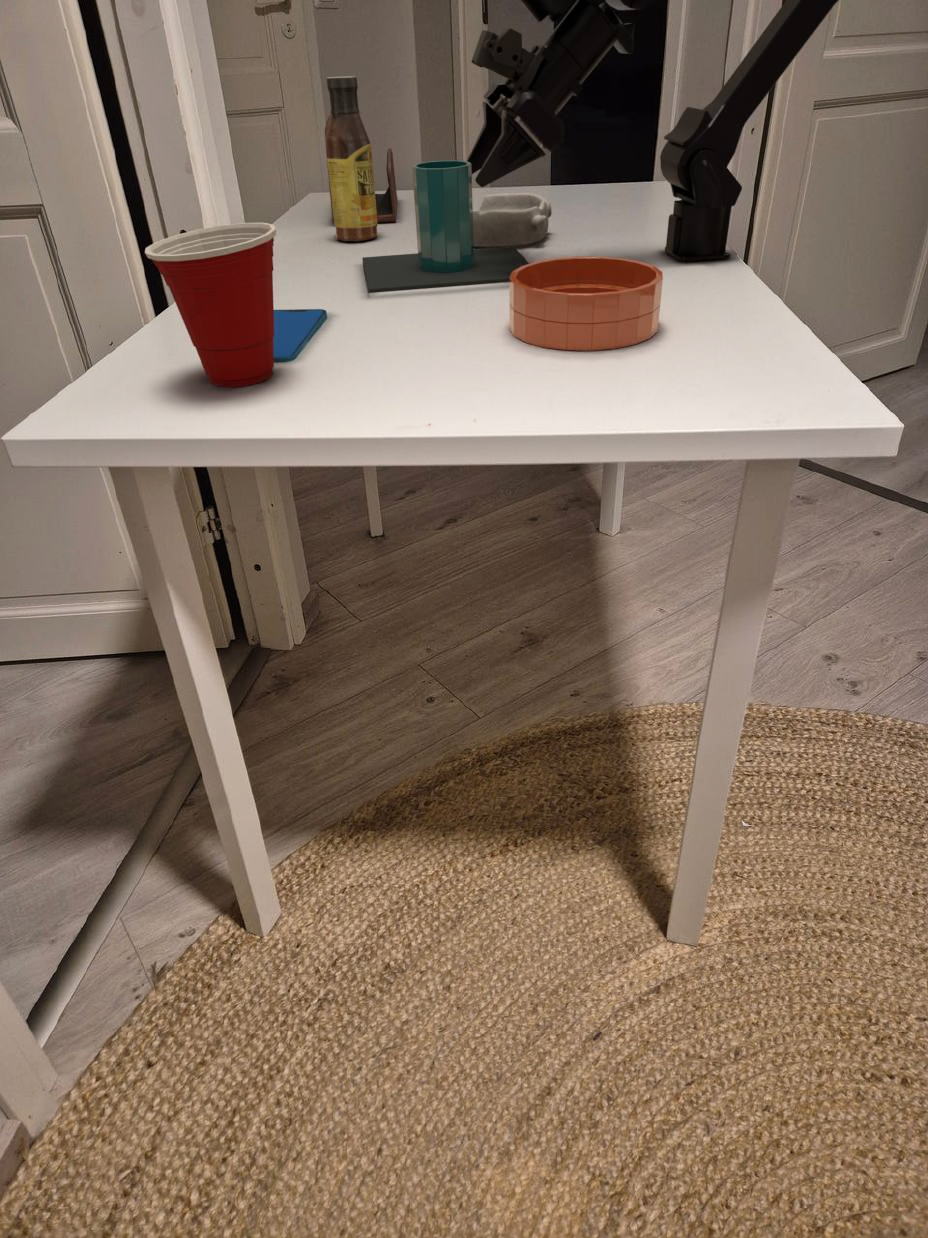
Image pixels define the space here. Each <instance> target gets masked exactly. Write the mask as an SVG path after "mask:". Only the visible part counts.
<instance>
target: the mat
mask: <svg viewBox="0 0 928 1238" xmlns="http://www.w3.org/2000/svg"><path fill="white" fill-rule="evenodd" d="M361 259H362V267H363V272H364V276H365V277H364V278H365V283H366V287H367V293H368V294H375V293H387V292H399V291H400V292H401V291H413V290H415V291H416V290H428V289H439V288H451V287H465V286H478V285H492V284H503V283H509V278H510V275H511V273H512V272H513V271H514V270H516V269H518V268H519V267H521V266H524V265H527V264H530V262H529V261H528V260H527V259H526V258H525V257H524V256H523V255H522V253H521V252H520V251H519V250H518V249H517V247H516V246H515V245H513V246H501V247H485V248H474V260H473V267H471V268H469V269H467V270H463V271H458V272H448V273H436V272H428V271H424V270H422V269H420V264H419V261H418V252H416V253H404V254H389V255H377V256H365V257H364V256H363V257H362V258H361ZM368 297H369V298H370V295H368Z"/></svg>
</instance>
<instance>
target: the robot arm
mask: <svg viewBox="0 0 928 1238" xmlns="http://www.w3.org/2000/svg"><path fill="white" fill-rule="evenodd" d="M519 1H520V2H521V4H522V5H523V6H524V7H525V8H526V10H527V11H528V12H529V13H530V15H531V16H532V18H534V20H536V22H537V23H541V22H543V21H544V20H545V19H546V18H547V17H548V18H547V19H548V20H549V21H550V22H551V23H554V22H556V21H557V20H558V19H559V18H560V17H561V16H562V15H563V14H564V13H565V12H566V11H567V9H568V8H569V7H570V5H571V4H572V3H573V1H574V0H519ZM657 1H658V0H605V2H602V3H601V4H598V3H597V2H596V1H595V0H576V1H575V2H574V4H573V5H572V7H571V8H570V9H569V10H568V11H567V13H565V16H564V17H563V18H562V20H560V22H559V24H558V25H557V26H556V27H555V28H554V30H553V31H552V32H551V34H550V35H549V36H548V37H547V39H545V41H544V43H543V44H534V45H533V47H531V49H530V50H529V51H528V50H527V49H526V48H523V38H522V37H523V36H522V33H521V32H519V31H517V30H515V29H513V28H511V27H506V28H504V29H503V30H502V31H501V33H499V34H497V33H495V32H493V31H489V30H487V29H486V30H484V29H483V30H481V32H480V35H479V37H478V41H477V44H476V47H475V50H474V53H473V56H472V59H471V64H473V65H475V66H478V68H484V69H486V70H490V71H491V72H494V73H496V74H497V75H499V76H502V77H504V78H506V80H505V81H504V82H493V83H492V84H491V86H490V87H489V89H488V90H487V91H486V92H485V94H484V95H483V98H484V100H485V101H484V100H483V101H482V110H483V111H482V112H483V125H482V127H481V130H480V132H479V134H478V136H477V139H476V141H475V143H474V144H473V147H472V149H471V151H470V153H469V155H468V156H467V159H466V161H467V162H470V163H471V168H472V175H473V174H476V173H477V172H478V171H479V172H478V174H477V175H476V177H475V180H474V181H475V183H476V184H477V185H478V186H479V187H480V188H484V187H486V186H488V185H490V184H491V183H494V182H495V181H497V180H499V179H501V178H503V177H505V176H506V175H509V174H510V173H513V172H514V171H517V170H518V169H521V168H523V167H524V166H526V165H529V164H530V163H532V162H534V161H536V160H539V159H540V158H544V157H545V156H546V155H547V154H546V152H548V153H550V154H553V153H554V151H555V150H556V149H558V147H559V146H560V144H561V143H562V142H563V141H564V139H565V123H564V122H563V121H562V120H561V119H560V118H559V117H558V114H559V112H560V111H561V110H562V109H563V107H564V106H565V105H566V103H567V102H568V101H569V100H570V99H571V97H572V96H575V97H578V96H579V95H580V93H581V92H582V91H583V90H584V87H583V86H582V84H583V83H584V81H585V80H586V79H587V78H588V77H589V75H590V74H591V73H592V71H593V70H594V69H595V68H596V67H597V66H598V64H599V63H600V62H601V61H602V59H603V58H604V57H605V55H606V54H607V53H608V52H609V51H610V50H611V48H612V47H613V46H614V48H615V50H617V52H618V53H619V54H626V55H628V54H629V55H630V54H633V52H634V49H635V47H634V32H635V28H636V25H635V23H633V22H627V23H623V22H622V21H621V19H620V18H619V17H618V15H617V14H616V13H615V11H614V10H617V11H632V10H633V11H634V10H642V9H645V8H649V7H650V6H652V5H653V4H654V3H656V2H657ZM839 1H840V0H785V1H784V3H783V4H782V6H781V7H780V8H779V9H778V11H777V12H776V14H775V15H774V17H772V20H770V22H769V23H768V25H767V26H766V27H765V29H764V30H763V32H762V33H761V34H760V35H759V37H758V38H757V40H756V41H755V42H754V44H753V46H752V47H750V49H749V50H748V52H747V54H746V55H745V56H744V58H743V59H742V60H741V62H740V63H739V65H738V66H737V68H736V69H735V70H734V72H733V73H732V74H731V75H730V77H729V79H728V80H727V81H726V82H725V84H724V85H723V87H722V88H721V89H720V90H719V92H718V93H717V95H716V96H715V98H714V99H713V100H712V101H711V102H710V103H708V104H707V105H706V106H705V107H703V108H702V109H701V108H696V107H692V106H687V107H686V108H685V109H684V111H683V112H682V114H681V115H680V117H679V119H678V121H677V123H676V125H675V127H673V129H671V131H670V132H669V133H667V134H666V135H665V136H663V140H666V141H667V142H666V143H665V144H664V145H663V148H662V150H661V152H660V156H659V159H660V170H661V174H662V176H663V177H664V179H665V180H666V181H667V182H668V183H670V189H671V193H672V196H673V197H674V198H676V199H677V198H678V199H680V200H674V201H673V210H672V213H670V214H669V216H668V222H667V230H666V231H667V232H666V242H665V246H664V252H666V253H667V254H669V255H670V256H671V257H673V258H675V259H676V260H677V261H679V262H692V261H693V262H695V261H707V260H708V261H709V260H719V259H730V258H731V255H732V254H731V253H730V252H729V251H728V250H726V249H727V242H728V235H729V230H730V229H729V228H730V220H731V213H732V207H734V206H735V205H736V203H737V201H738V199H739V197H740V195H741V193H742V191H743V186H742V185H741V183H740V182H739V181H738V180H737V178H736V177H735V176H734V174H733V173H732V172H731V171H730V169H729V168H728V166H729V164H730V163H731V161H732V159H733V157H734V156H735V153H736V152H737V149H738V146H739V142H740V139H741V136H742V132H743V129H744V127H745V126H746V124H747V122H748V120H749V119H750V118H751V116H752V115H753V114H754V112H755V111H756V110H757V109H758V107H759V106H760V105H761V104H762V102H763V101H764V99H765V98H766V97H767V95H768V94H769V93H770V91H771V90H772V88H774V86H775V85H776V84H777V82H778V81H779V80H780V79H781V77H782V76H783V74H784V73H785V72H786V70H787V69H788V68H789V66H790V65H791V64H792V62H793V61H794V60H795V58H796V57H797V56H798V54H799V53H800V52H801V50H802V49H803V47H805V45H806V44H807V42H808V41H809V40H810V38H811V37H812V35H814V33H815V32H816V30H817V29H818V28H819V26H820V25H821V24H822V22H823V21H824V20H825V18H826V17H827V16H828V14H829V13H830V12H831V11H832V9H833V8H834V7H835V5H836V4H837V3H838V2H839ZM612 8H614V10H613V9H612ZM542 148H543V149H544V150H545V151H546V152H545V151H544V150H543V149H542Z"/></svg>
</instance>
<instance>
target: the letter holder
mask: <svg viewBox="0 0 928 1238" xmlns="http://www.w3.org/2000/svg"><path fill="white" fill-rule="evenodd" d="M331 119H332V115H331V114H330V115H329V116H328V117H327V120H326V123H325V127H324V138H325V139H324V141H325V143H326V133H327V129H328V127H329V125H330V122H331ZM325 154H326V158H327V157H328V154H327V146H326V145H325ZM393 156H394V154H393V150H392V148H388V149H387V153H386V177H387V183H388V184H387V185H388V187H387V189H386V191H385V192H384V193H375V200H376V212H377V224H383V223H395V222H396V221H397V211H398V210H397V207H398V193H397V184H396V183H397V182H396V174H395V165H394V157H393ZM326 165H327V167H326V168H328V162H327V161H326ZM327 175H328V176H327V177H328V178H329V171H328V170H327ZM328 189H329V198H330V207H331V208H330V209H331V220H332V221H331V222H332V224H333V226H334V227H335V225H334V217H333V208H332V199H331V190H330V180H329V179H328Z"/></svg>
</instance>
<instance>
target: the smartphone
mask: <svg viewBox="0 0 928 1238" xmlns="http://www.w3.org/2000/svg"><path fill="white" fill-rule="evenodd" d="M327 319H328V312H327V309H323V308H305V309H301V308H297V309H295V308H294V309H274V337H273V350H274V363H288V362H289V363H290V362H292V361H295V360H296V359H297V357H298V356H299V355H300V354H301V353H302V352H303V350H304V349H305V348H306V346H307V345H308V343H309V342H310V341H311V340H312V339H313V337H314V335H316V334H317V332H318V331H319V329H320V328H321V327H322V326H323V324H324V323H325V321H326V320H327Z"/></svg>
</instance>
